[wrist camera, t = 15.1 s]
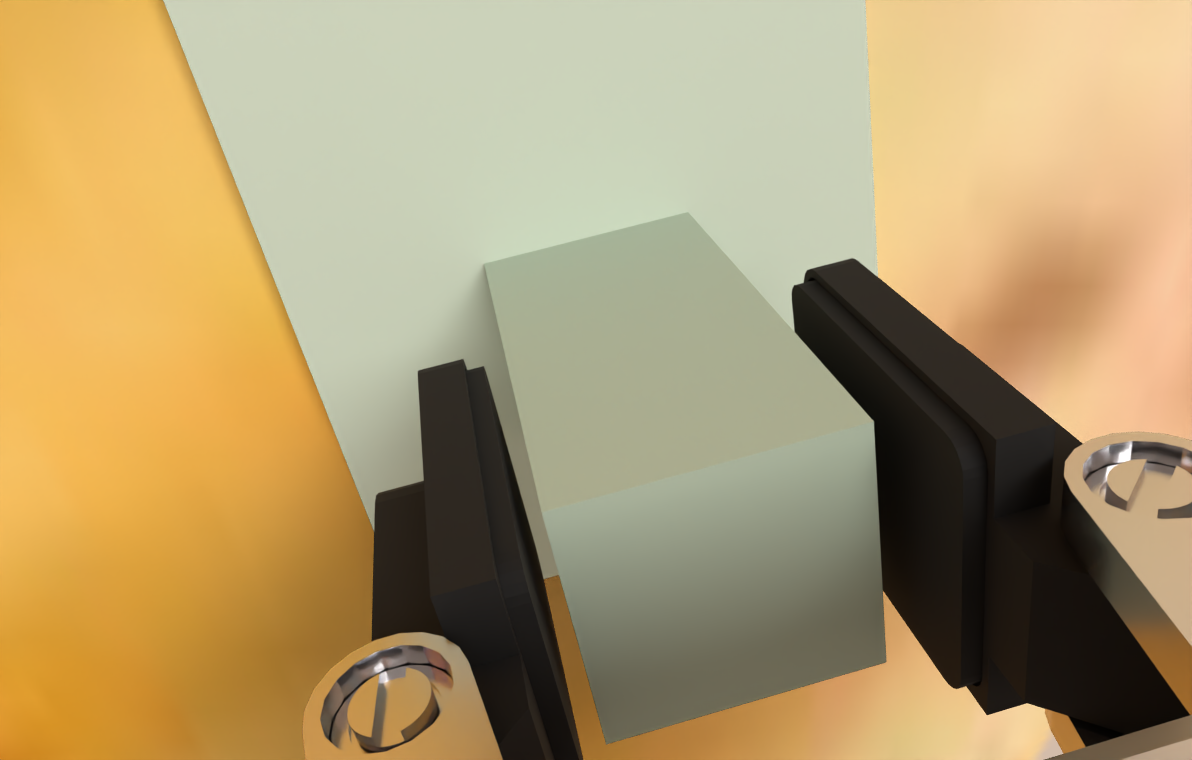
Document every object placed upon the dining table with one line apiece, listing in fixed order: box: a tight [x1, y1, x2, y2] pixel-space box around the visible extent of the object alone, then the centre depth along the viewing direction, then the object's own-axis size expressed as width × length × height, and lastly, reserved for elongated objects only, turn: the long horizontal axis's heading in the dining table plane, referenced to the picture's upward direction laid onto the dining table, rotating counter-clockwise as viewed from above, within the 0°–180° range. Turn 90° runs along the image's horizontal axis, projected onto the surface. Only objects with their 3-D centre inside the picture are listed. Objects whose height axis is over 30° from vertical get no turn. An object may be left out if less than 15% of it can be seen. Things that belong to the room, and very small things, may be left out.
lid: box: [163, 0, 886, 744], centre depth 11 cm, size 14×9×7 cm, turn 11°
